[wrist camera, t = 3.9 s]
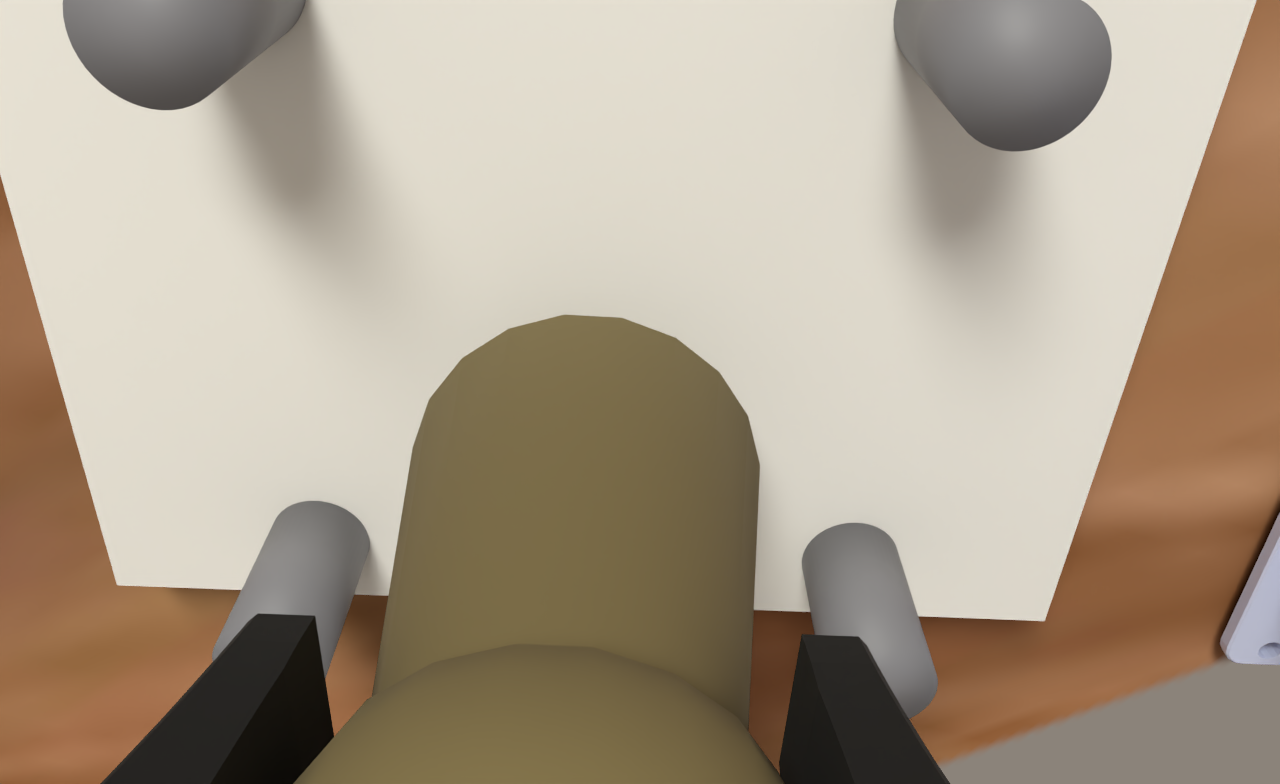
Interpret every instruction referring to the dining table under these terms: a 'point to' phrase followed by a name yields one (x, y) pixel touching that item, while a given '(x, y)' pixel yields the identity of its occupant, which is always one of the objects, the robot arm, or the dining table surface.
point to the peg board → (607, 263)
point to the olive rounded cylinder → (569, 574)
